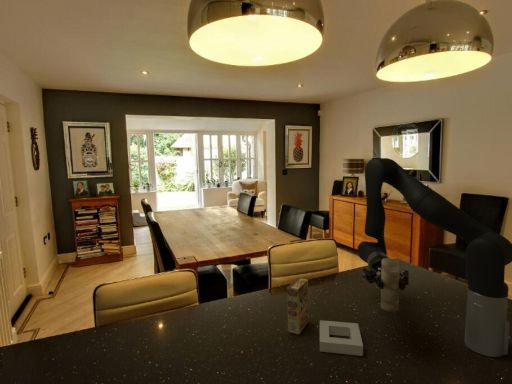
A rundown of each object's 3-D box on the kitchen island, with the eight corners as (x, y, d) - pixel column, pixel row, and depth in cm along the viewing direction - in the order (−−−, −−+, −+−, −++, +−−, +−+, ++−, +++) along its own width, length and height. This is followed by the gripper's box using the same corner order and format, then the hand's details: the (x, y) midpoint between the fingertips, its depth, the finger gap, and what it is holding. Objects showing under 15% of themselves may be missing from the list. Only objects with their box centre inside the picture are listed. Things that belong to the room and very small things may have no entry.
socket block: (357, 332, 98) (357, 323, 98) (362, 355, 86) (363, 346, 86) (319, 328, 100) (319, 320, 100) (319, 351, 89) (319, 341, 88)
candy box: (299, 335, 97) (299, 289, 95) (287, 332, 99) (286, 286, 97) (308, 322, 105) (308, 279, 103) (297, 319, 107) (297, 277, 105)
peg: (396, 304, 91) (397, 258, 90) (400, 312, 86) (401, 264, 85) (379, 302, 92) (380, 258, 90) (382, 310, 87) (383, 263, 86)
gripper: (358, 253, 103) (365, 272, 87) (403, 255, 100) (420, 275, 84) (358, 275, 104) (365, 297, 88) (403, 277, 101) (419, 301, 85)
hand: (392, 286), depth 86 cm, fingers closed on peg, 4 cm apart
